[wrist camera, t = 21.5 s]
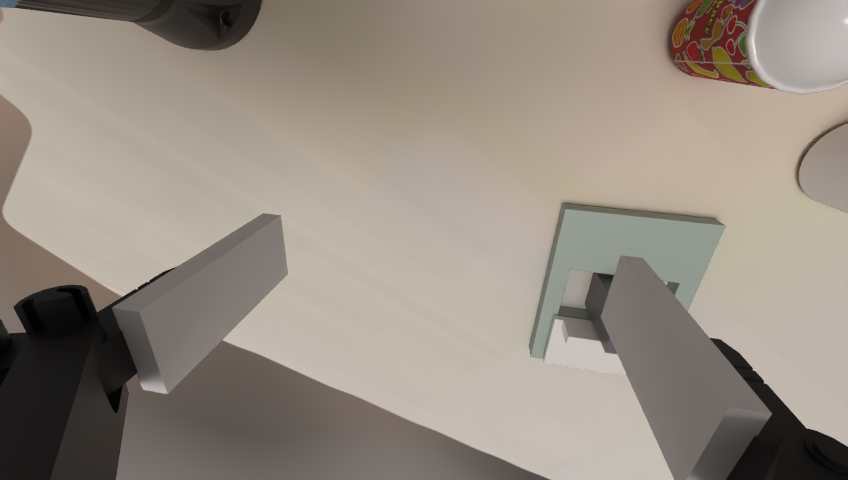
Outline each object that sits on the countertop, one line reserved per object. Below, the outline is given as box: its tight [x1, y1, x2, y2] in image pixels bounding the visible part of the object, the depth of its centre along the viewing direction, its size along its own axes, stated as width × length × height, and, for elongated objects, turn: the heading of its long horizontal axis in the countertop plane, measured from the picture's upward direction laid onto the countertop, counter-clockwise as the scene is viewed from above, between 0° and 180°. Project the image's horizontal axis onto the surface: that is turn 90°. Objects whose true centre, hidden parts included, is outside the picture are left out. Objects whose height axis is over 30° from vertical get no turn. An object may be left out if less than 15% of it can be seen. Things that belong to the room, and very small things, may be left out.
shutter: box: [543, 315, 627, 376], centre depth 44 cm, size 7×13×4 cm, turn 87°
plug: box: [585, 272, 617, 354], centre depth 40 cm, size 5×5×11 cm
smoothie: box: [671, 0, 848, 95], centre depth 24 cm, size 8×8×20 cm
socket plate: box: [529, 203, 725, 359], centre depth 44 cm, size 21×16×2 cm
